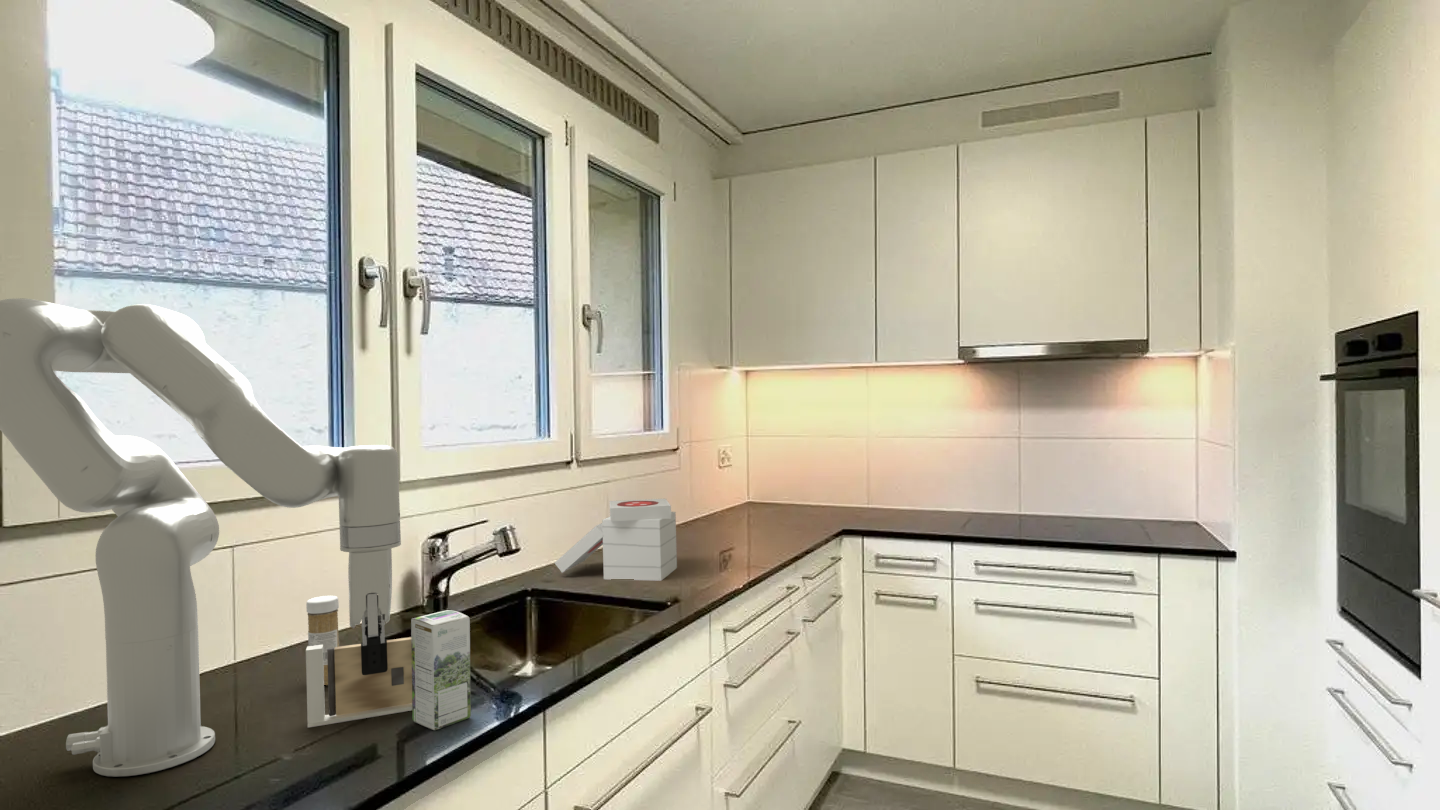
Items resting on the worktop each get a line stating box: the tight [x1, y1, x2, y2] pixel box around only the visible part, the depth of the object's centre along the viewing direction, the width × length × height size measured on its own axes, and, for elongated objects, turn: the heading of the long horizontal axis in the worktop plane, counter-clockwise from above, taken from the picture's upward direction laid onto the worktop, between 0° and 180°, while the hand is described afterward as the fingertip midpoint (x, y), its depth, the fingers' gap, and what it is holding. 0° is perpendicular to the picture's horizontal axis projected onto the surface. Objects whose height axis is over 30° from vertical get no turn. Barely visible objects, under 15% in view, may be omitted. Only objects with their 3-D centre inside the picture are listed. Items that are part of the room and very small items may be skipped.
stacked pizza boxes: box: [554, 498, 678, 582], centre depth 202 cm, size 19×30×18 cm, turn 78°
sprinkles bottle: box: [306, 595, 340, 686], centre depth 125 cm, size 5×5×13 cm
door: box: [327, 636, 412, 716], centre depth 111 cm, size 11×1×9 cm, turn 114°
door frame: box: [305, 644, 412, 728], centre depth 111 cm, size 16×2×10 cm, turn 114°
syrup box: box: [410, 609, 472, 731], centre depth 109 cm, size 6×6×14 cm
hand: (374, 671), depth 106 cm, fingers closed
